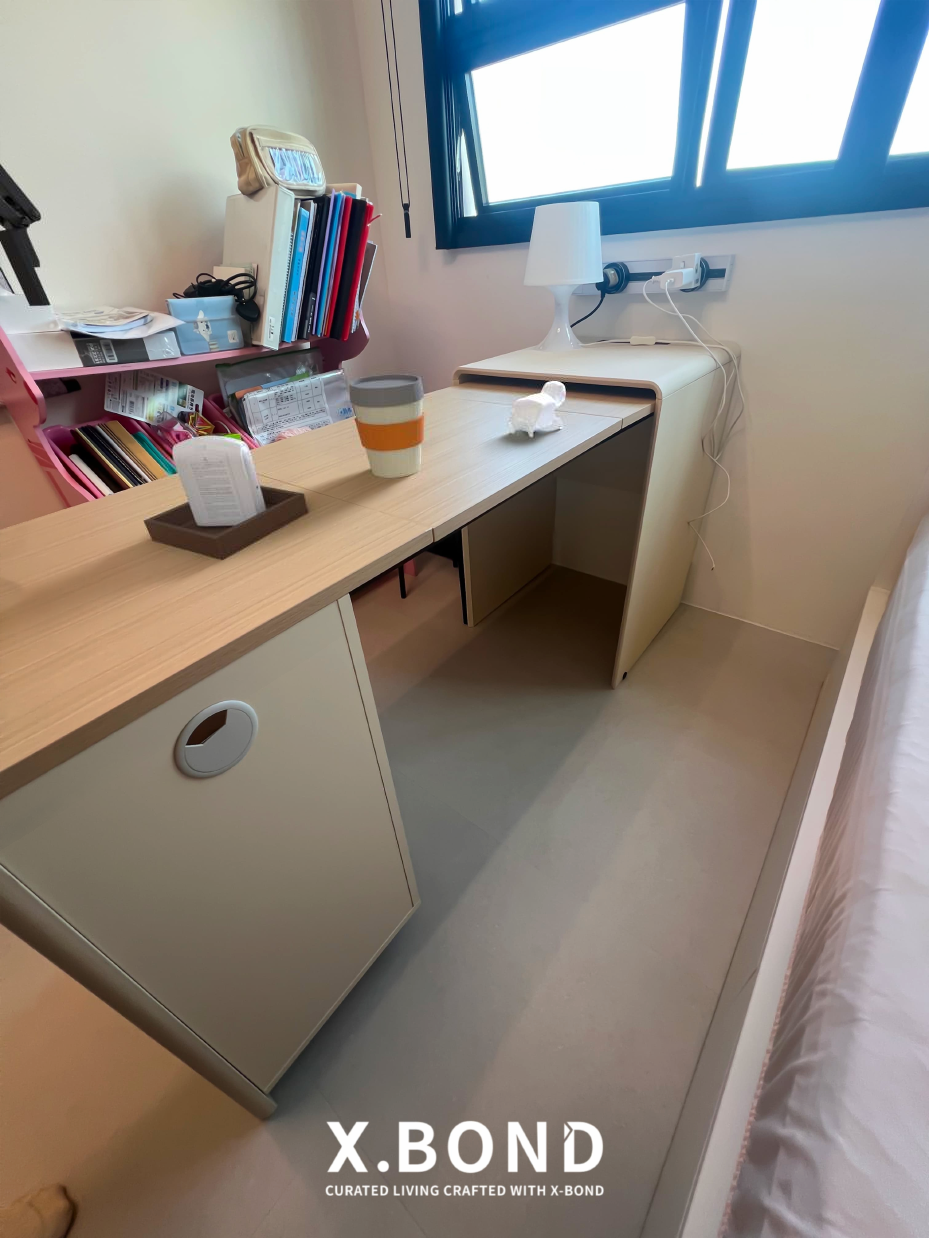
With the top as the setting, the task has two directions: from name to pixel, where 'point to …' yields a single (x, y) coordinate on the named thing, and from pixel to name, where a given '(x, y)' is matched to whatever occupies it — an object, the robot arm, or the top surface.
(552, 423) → the white animal figurine
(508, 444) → the top surface
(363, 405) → the reusable coffee cup
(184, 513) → the tray
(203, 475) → the photo printer
